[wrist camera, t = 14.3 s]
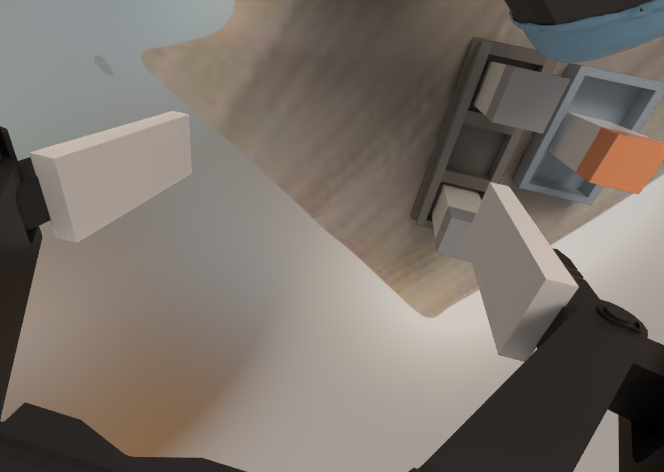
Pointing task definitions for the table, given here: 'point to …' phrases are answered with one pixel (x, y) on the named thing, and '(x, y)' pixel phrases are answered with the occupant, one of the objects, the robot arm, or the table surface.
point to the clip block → (474, 129)
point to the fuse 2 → (519, 96)
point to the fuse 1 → (454, 219)
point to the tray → (592, 101)
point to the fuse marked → (607, 152)
